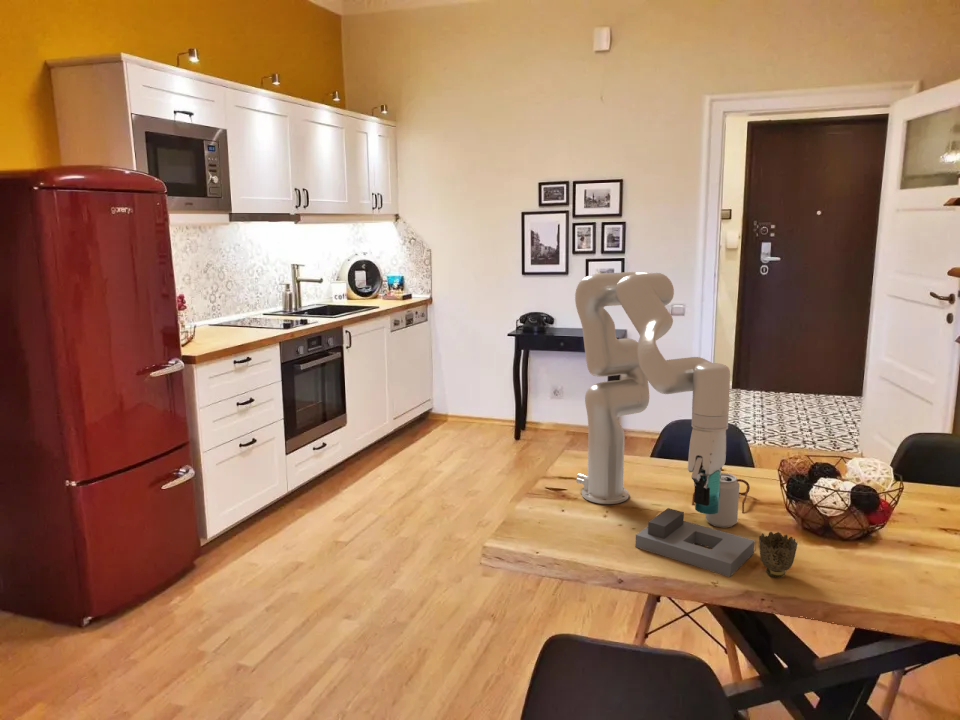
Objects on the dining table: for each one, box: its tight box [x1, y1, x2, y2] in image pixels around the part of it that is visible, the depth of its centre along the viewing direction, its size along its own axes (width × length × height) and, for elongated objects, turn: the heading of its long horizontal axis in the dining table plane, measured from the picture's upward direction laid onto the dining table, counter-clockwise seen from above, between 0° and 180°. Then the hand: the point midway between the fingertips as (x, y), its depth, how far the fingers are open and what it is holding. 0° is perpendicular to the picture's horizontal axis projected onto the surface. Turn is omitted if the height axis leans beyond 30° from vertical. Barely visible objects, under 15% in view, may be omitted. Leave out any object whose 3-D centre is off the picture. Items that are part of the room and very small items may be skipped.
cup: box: [758, 531, 798, 578], centre depth 148 cm, size 8×7×8 cm
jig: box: [634, 507, 756, 578], centre depth 160 cm, size 22×14×6 cm, turn 50°
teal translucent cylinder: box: [694, 470, 720, 515], centre depth 156 cm, size 5×5×9 cm
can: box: [704, 472, 740, 529], centre depth 173 cm, size 8×8×12 cm
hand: (707, 499), depth 156 cm, fingers closed on teal translucent cylinder, 4 cm apart
